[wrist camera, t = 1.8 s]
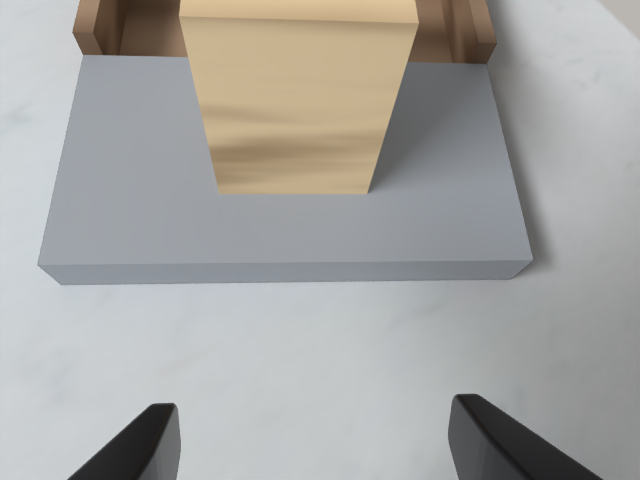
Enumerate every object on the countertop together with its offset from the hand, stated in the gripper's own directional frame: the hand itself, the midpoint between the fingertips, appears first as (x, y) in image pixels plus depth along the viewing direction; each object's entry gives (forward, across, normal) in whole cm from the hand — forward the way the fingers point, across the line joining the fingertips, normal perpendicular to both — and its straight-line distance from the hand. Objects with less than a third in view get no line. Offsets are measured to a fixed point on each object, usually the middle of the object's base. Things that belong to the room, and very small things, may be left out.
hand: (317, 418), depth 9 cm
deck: (+19, 0, 0) cm, 19 cm away
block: (+18, 0, -2) cm, 18 cm away
